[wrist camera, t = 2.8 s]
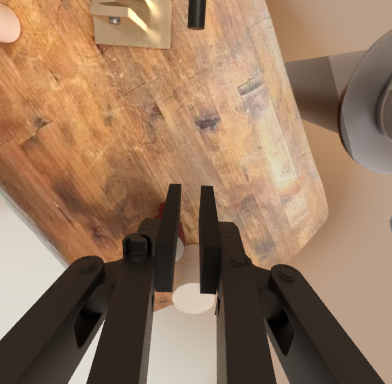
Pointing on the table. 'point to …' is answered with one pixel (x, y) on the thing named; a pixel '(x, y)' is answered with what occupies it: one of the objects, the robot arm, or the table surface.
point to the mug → (180, 235)
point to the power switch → (134, 24)
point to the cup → (190, 283)
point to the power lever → (194, 11)
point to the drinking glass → (8, 25)
